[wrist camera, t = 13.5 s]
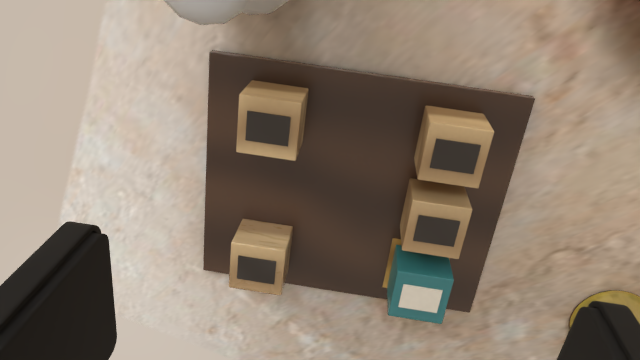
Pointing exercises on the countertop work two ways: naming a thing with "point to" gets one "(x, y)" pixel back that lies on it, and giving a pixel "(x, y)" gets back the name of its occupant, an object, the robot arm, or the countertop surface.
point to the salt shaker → (221, 9)
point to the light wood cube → (271, 120)
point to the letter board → (347, 172)
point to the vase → (630, 300)
